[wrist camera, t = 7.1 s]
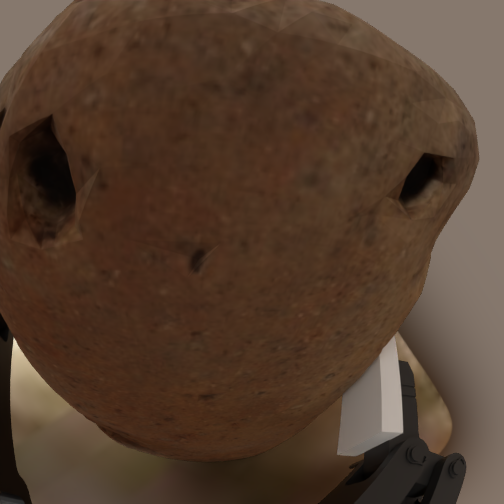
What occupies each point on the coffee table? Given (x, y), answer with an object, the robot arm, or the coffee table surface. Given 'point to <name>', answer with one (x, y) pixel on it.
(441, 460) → the robot arm
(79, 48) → the block
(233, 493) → the coffee table surface
